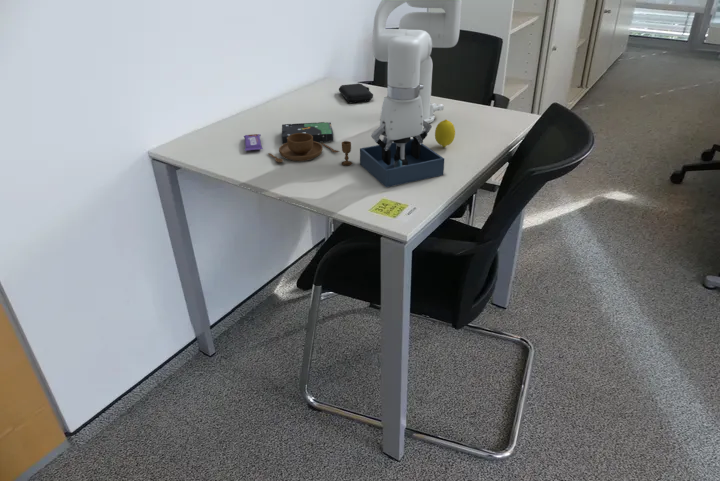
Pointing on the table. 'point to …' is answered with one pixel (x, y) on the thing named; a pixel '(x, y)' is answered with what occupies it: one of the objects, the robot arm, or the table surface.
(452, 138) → the lemon
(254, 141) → the snack package
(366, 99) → the carrying case
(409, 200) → the table surface
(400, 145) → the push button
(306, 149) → the place setting
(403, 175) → the bin
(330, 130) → the disk drive
